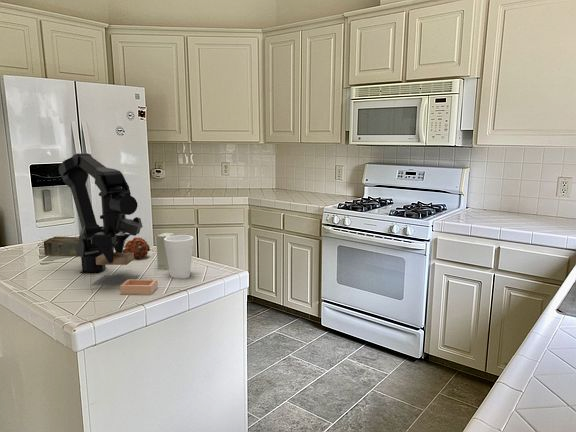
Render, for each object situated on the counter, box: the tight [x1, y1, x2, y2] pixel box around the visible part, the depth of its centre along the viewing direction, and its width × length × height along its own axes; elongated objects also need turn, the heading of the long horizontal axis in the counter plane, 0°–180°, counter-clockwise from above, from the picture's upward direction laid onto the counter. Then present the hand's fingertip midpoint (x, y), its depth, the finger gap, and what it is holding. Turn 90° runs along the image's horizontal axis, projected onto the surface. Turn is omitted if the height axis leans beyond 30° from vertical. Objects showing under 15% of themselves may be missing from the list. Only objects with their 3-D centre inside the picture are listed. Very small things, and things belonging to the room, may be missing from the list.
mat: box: [90, 274, 141, 286], centre depth 138 cm, size 12×10×1 cm
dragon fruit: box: [122, 237, 151, 259], centre depth 167 cm, size 8×8×12 cm
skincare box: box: [155, 232, 176, 271], centre depth 152 cm, size 6×4×12 cm
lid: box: [96, 251, 135, 266], centre depth 137 cm, size 10×6×3 cm
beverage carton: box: [43, 236, 80, 257], centre depth 171 cm, size 8×19×7 cm, turn 85°
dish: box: [119, 278, 159, 296], centre depth 128 cm, size 9×6×3 cm, turn 89°
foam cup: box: [164, 234, 194, 280], centre depth 143 cm, size 10×9×13 cm
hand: (115, 259), depth 137 cm, fingers closed on lid, 6 cm apart
